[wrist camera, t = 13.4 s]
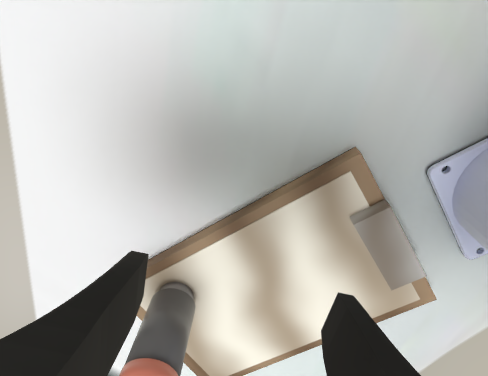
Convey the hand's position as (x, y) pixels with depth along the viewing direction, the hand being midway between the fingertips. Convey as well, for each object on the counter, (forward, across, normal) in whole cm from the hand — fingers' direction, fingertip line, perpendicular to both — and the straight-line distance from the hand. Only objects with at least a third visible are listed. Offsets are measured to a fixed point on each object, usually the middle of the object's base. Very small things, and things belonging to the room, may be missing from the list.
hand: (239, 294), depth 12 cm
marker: (+9, +3, +10) cm, 14 cm away
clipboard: (+10, -4, +8) cm, 13 cm away
